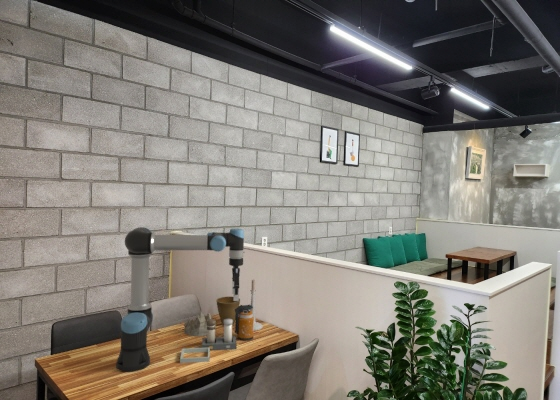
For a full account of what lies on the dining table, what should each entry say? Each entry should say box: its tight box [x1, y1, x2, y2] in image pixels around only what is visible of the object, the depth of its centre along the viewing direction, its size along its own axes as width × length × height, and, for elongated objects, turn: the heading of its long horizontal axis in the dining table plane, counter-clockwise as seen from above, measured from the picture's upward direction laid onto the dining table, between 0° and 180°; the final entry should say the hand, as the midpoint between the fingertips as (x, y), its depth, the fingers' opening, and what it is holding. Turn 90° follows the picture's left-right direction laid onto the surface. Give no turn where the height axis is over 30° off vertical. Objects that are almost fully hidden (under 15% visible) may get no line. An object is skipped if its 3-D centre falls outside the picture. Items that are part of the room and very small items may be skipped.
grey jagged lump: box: [183, 311, 212, 338], centre depth 225 cm, size 16×16×15 cm
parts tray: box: [179, 347, 211, 365], centre depth 190 cm, size 14×12×3 cm
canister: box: [233, 304, 254, 342], centre depth 216 cm, size 9×11×20 cm
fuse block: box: [201, 336, 238, 351], centre depth 204 cm, size 18×10×4 cm, turn 100°
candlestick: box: [250, 279, 263, 332], centre depth 237 cm, size 13×13×30 cm
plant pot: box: [216, 296, 241, 327], centre depth 241 cm, size 15×15×16 cm
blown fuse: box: [206, 318, 217, 343], centre depth 203 cm, size 5×5×14 cm
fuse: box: [223, 319, 233, 342], centre depth 205 cm, size 5×5×14 cm
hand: (235, 297), depth 204 cm, fingers open, 13 cm apart
